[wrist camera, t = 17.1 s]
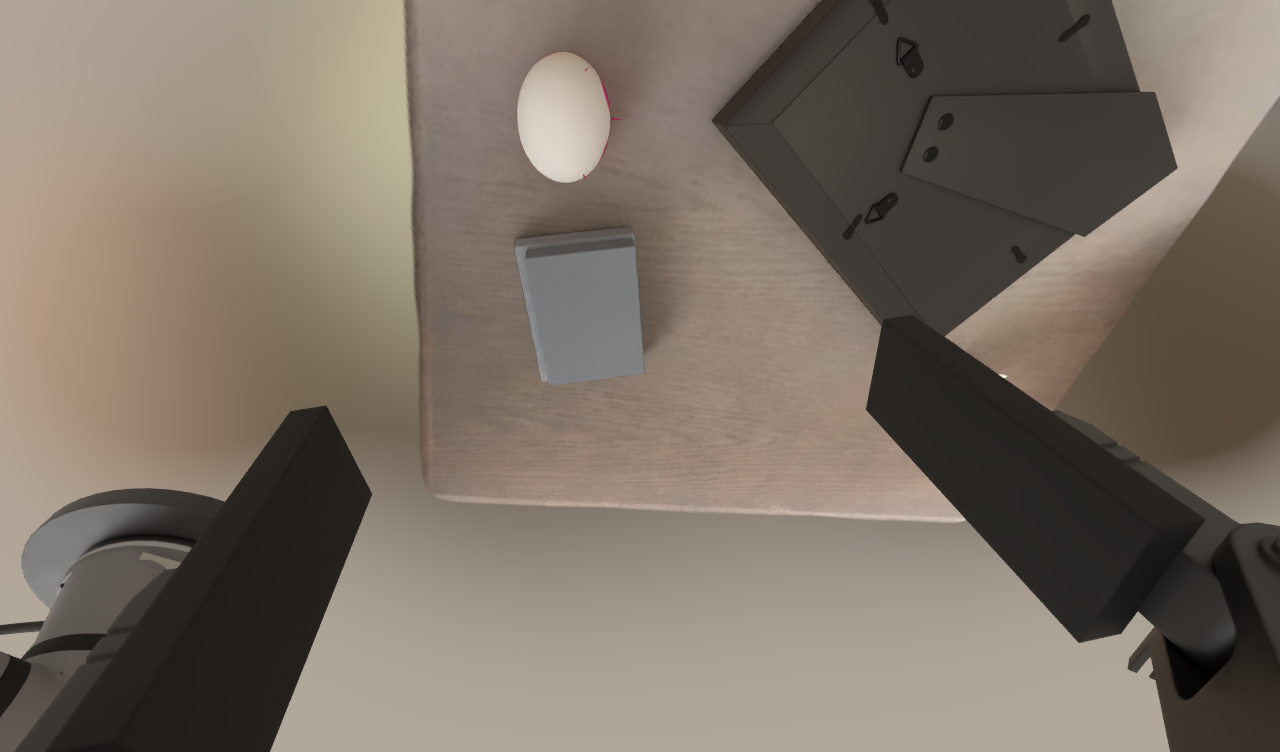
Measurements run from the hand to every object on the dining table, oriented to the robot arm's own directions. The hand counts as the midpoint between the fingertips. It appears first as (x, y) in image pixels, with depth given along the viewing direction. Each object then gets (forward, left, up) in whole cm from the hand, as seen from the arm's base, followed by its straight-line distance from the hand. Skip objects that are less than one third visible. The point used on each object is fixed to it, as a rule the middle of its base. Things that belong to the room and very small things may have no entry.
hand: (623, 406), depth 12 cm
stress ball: (0, +4, -30) cm, 30 cm away
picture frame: (+28, 0, -30) cm, 41 cm away
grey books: (-1, -10, -30) cm, 32 cm away
